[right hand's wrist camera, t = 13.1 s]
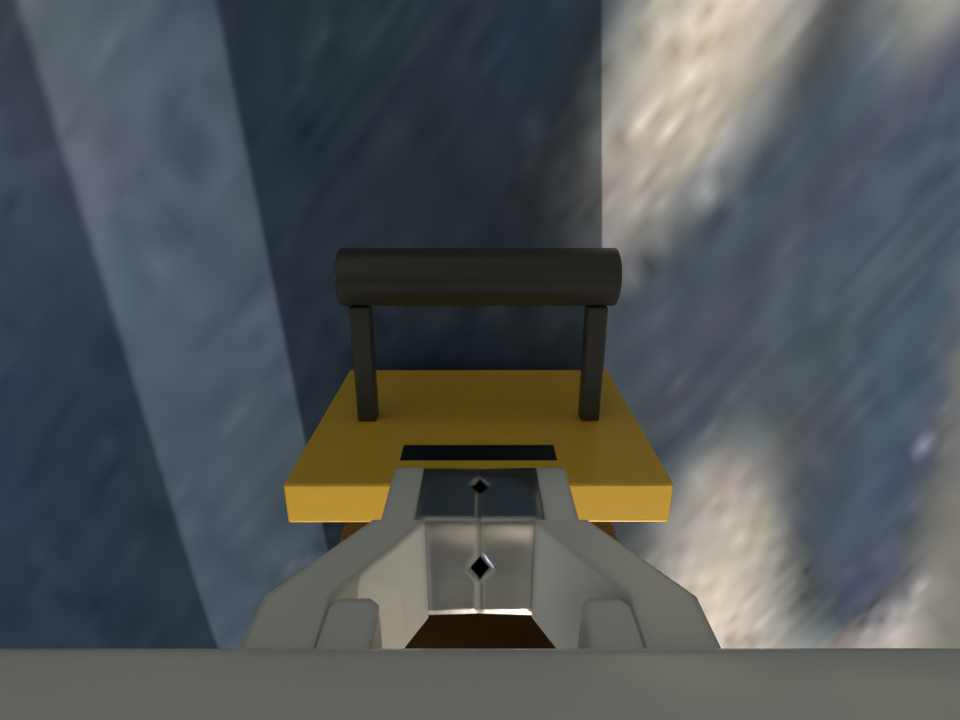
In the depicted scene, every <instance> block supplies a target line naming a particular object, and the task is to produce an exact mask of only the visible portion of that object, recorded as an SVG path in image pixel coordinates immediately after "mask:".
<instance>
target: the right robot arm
mask: <svg viewBox="0 0 960 720" xmlns="http://www.w3.org/2000/svg"><path fill="white" fill-rule="evenodd" d="M473 613H485V614H521V615H532V618H533V620H534V621H535V622H536V623H537V625H538V626H539V627H540V628H541V630H542V631H543V632H544V634H545V635H546V636H547V637H548V639H549V640H550V641H551V642H552V644H553V645H554V646H555V647H556V649H404V648H405V647H406V645H407V644H408V643H409V642H410V640H411V639H412V638H413V637H414V635H415V634H416V633H417V631H418V630H419V629H420V628H421V626H422V625H423V624H424V623H425V621H426V620H427V619H428V615H438V614H473ZM0 720H960V649H721V647H720V645H719V643H718V641H717V639H716V637H715V635H714V633H713V631H712V629H711V627H710V625H709V622H708V620H707V618H706V616H705V614H704V612H703V610H702V608H701V606H700V604H699V602H698V600H697V598H696V596H694V595H693V594H691V593H690V592H688V591H687V590H686V589H684V588H683V587H681V586H680V585H679V584H677V583H676V582H674V581H673V580H671V579H670V578H669V577H667V576H666V575H664V574H663V573H662V572H660V571H659V570H657V569H656V568H654V567H653V566H652V565H650V564H649V563H647V562H646V561H645V560H643V559H642V558H640V557H639V556H637V555H636V554H635V553H633V552H632V551H630V550H629V549H628V548H626V547H625V546H623V545H622V544H620V543H619V542H618V541H616V540H615V539H613V538H612V537H611V536H609V535H608V534H606V533H605V532H603V531H602V530H601V529H599V528H598V527H596V526H595V525H594V524H592V523H591V522H589V521H588V520H579V518H578V515H577V511H576V507H575V504H574V500H573V496H572V493H571V489H570V485H569V482H568V478H567V474H566V471H565V469H564V468H563V467H545V468H503V469H480V468H428V467H426V468H424V467H398V468H396V469H395V470H394V474H393V477H392V481H391V485H390V489H389V492H388V496H387V500H386V503H385V507H384V511H383V515H382V518H381V520H372V521H371V522H369V523H368V524H366V525H365V526H364V527H362V528H361V529H359V530H358V531H356V532H355V533H354V534H352V535H351V536H349V537H348V538H347V539H345V540H344V541H342V542H341V543H339V544H338V545H337V546H335V547H334V548H332V549H331V550H329V551H328V552H327V553H325V554H324V555H322V556H321V557H319V558H318V559H317V560H315V561H314V562H312V563H311V564H310V565H308V566H307V567H305V568H304V569H302V570H301V571H300V572H298V573H297V574H295V575H294V576H292V577H291V578H290V579H288V580H287V581H285V582H284V583H282V584H281V585H280V586H278V587H277V588H275V589H274V590H273V591H271V592H270V593H268V594H267V595H265V596H264V598H263V600H262V602H261V604H260V606H259V608H258V610H257V613H256V615H255V617H254V619H253V621H252V623H251V625H250V627H249V629H248V631H247V633H246V635H245V637H244V639H243V641H242V643H241V645H240V647H239V649H158V648H107V649H0Z"/></svg>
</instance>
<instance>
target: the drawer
mask: <svg viewBox="0 0 960 720" xmlns="http://www.w3.org/2000/svg"><path fill="white" fill-rule="evenodd" d="M621 283H622V264H621V257H620V254H619V251H618V250H617V249H616V248H341V249H339V251H338V253H337V256H336V261H335V286H336V292H337V297H338V300H339V302H340V304H341V305H343V306H350V307H349V317H350V329H351V341H352V354H353V366H354V370H351V371H349V373H348V375H347V377H346V378H345V380H344V382H343V383H342V385H341V387H340V389H339V390H338V392H337V394H336V396H335V397H334V399H333V401H332V402H331V404H330V406H329V408H328V409H327V411H326V413H325V414H324V416H323V418H322V420H321V421H320V423H319V425H318V427H317V428H316V430H315V432H314V433H313V435H312V437H311V439H310V440H309V442H308V444H307V445H306V447H305V449H304V451H303V452H302V454H301V456H300V458H299V459H298V461H297V463H296V464H295V466H294V468H293V470H292V471H291V473H290V475H289V476H288V478H287V480H286V482H285V483H284V490H285V498H286V505H287V512H288V519H289V522H346V523H345V526H344V529H343V532H342V535H341V537H340V540H339V543H341V542H342V541H344V540H345V539H347V538H348V537H349V536H351V535H352V534H354V533H355V532H356V531H358V530H359V529H361V528H362V527H364V526H365V525H366V524H368V523H369V522H371V521H372V520H381V518H382V515H383V511H384V507H385V503H386V500H387V496H388V492H389V489H390V485H391V481H392V477H393V474H394V470H395V469H396V468H398V467H424V468H426V467H428V468H480V469H503V468H545V467H563V468H564V469H565V471H566V474H567V478H568V482H569V485H570V489H571V493H572V496H573V500H574V504H575V507H576V511H577V515H578V518H579V520H588V521H589V522H591V523H592V524H594V525H595V526H596V527H598V528H599V529H601V530H602V531H603V532H605V533H606V534H608V535H609V536H611V537H612V538H613V539H615V540H616V541H618V540H617V537H616V534H615V531H614V528H613V525H612V523H611V522H666V521H668V519H669V511H670V504H671V497H672V489H673V483H672V481H671V480H670V478H669V476H668V474H667V473H666V471H665V469H664V468H663V466H662V464H661V462H660V461H659V459H658V457H657V455H656V454H655V452H654V450H653V449H652V447H651V445H650V443H649V442H648V440H647V438H646V436H645V435H644V433H643V431H642V430H641V428H640V426H639V424H638V423H637V421H636V419H635V417H634V416H633V414H632V412H631V411H630V409H629V407H628V405H627V404H626V402H625V400H624V399H623V397H622V395H621V393H620V392H619V390H618V388H617V386H616V385H615V383H614V381H613V380H612V378H611V376H610V374H609V373H608V371H607V370H603V364H604V351H605V339H606V326H607V314H608V308H607V306H613V305H615V304H616V303H617V301H618V299H619V295H620V291H621ZM372 306H585V314H584V329H583V345H582V360H581V370H376V359H375V345H374V330H373V315H372ZM339 543H338V544H339ZM404 649H556V647H555V646H554V645H553V644H552V642H551V641H550V640H549V639H548V637H547V636H546V635H545V634H544V632H543V631H542V630H541V628H540V627H539V626H538V625H537V623H536V622H535V621H534V620H533V618H532V615H521V614H485V613H473V614H438V615H428V619H427V620H426V621H425V623H424V624H423V625H422V626H421V628H420V629H419V630H418V631H417V633H416V634H415V635H414V637H413V638H412V639H411V640H410V642H409V643H408V644H407V645H406V647H405V648H404Z"/></svg>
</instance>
